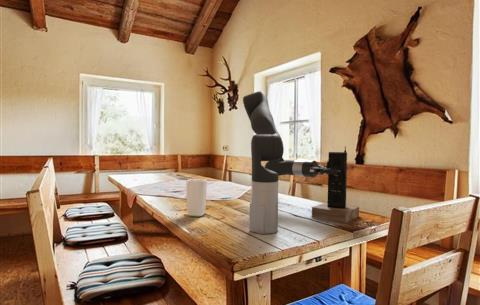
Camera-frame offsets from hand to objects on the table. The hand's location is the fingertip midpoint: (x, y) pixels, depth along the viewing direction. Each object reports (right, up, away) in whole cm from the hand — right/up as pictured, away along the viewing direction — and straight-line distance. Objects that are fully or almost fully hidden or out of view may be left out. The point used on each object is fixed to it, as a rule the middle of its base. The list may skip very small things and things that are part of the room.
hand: (340, 171), depth 121 cm
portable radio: (-1, -15, +3) cm, 15 cm away
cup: (-59, -19, +3) cm, 62 cm away
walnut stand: (-2, -19, +2) cm, 19 cm away
